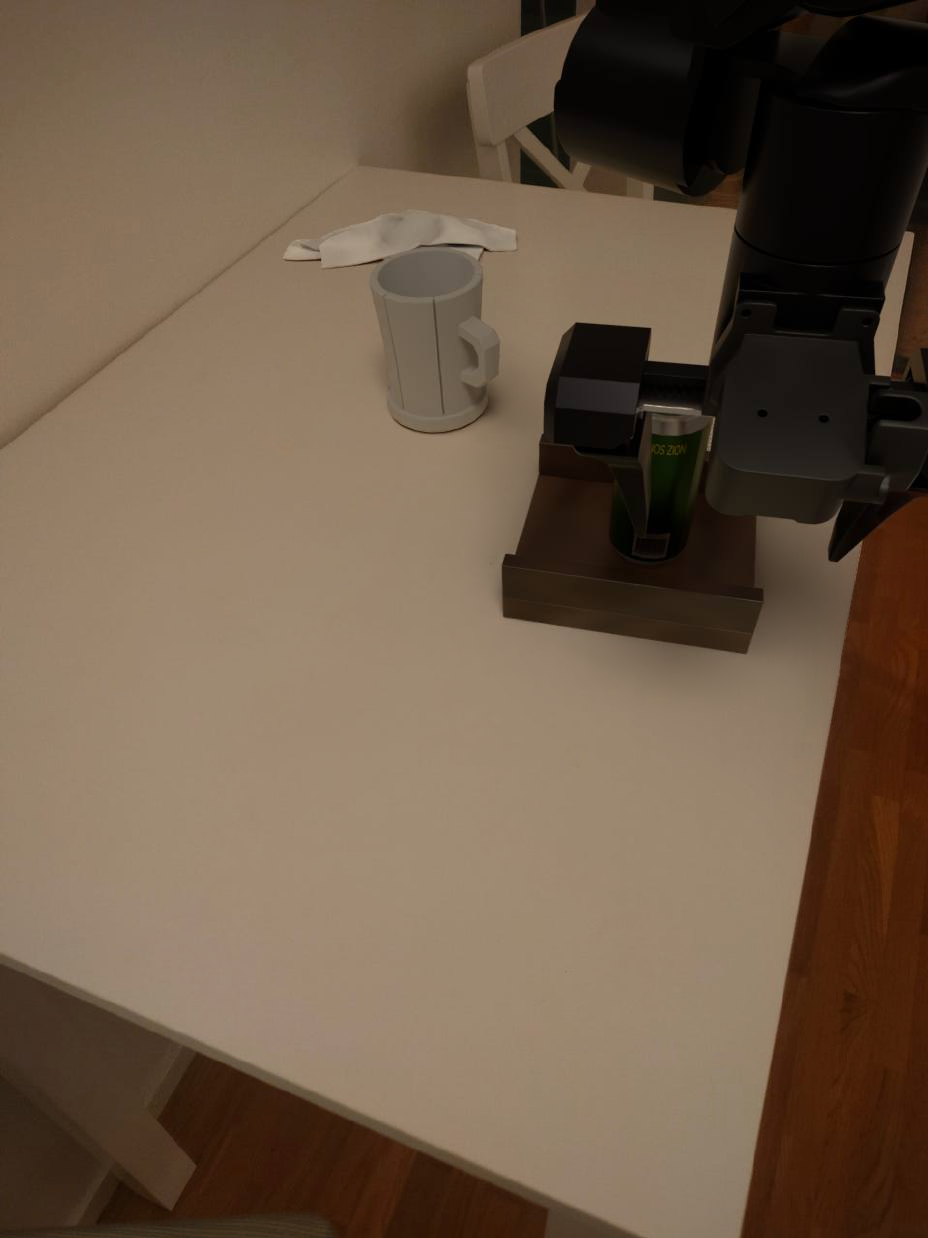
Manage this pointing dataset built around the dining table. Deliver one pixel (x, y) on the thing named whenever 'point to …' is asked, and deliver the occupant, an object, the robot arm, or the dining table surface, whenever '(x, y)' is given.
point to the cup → (434, 337)
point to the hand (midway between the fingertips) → (734, 544)
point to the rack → (628, 565)
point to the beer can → (665, 491)
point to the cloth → (402, 238)
